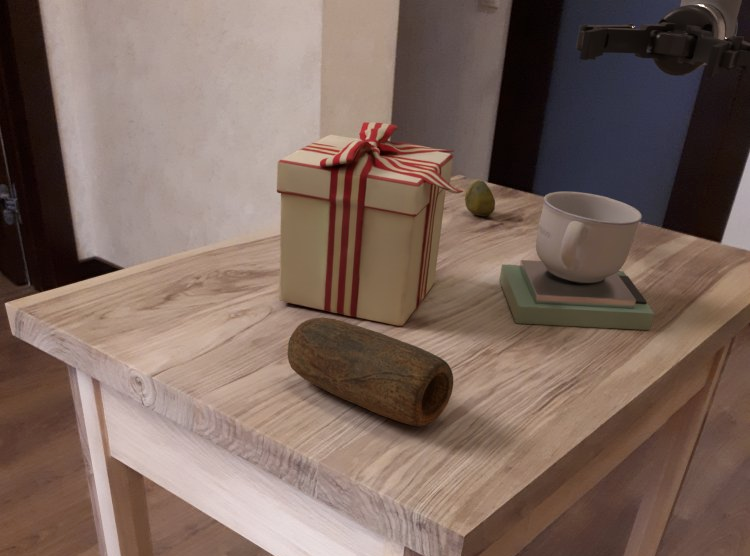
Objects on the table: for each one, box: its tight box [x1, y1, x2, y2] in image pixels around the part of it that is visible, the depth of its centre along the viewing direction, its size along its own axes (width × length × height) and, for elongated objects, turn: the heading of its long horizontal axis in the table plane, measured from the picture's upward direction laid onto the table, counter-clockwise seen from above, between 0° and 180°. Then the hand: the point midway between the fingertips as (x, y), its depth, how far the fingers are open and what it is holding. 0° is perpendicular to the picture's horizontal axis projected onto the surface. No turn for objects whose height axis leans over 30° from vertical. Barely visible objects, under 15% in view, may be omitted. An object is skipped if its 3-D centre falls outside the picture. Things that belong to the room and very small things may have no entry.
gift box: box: [276, 121, 464, 327], centre depth 87 cm, size 17×18×17 cm
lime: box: [464, 179, 496, 217], centre depth 117 cm, size 4×5×5 cm
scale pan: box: [519, 259, 636, 309], centre depth 91 cm, size 11×11×1 cm
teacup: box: [535, 191, 643, 283], centre depth 89 cm, size 14×11×8 cm
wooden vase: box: [287, 317, 454, 427], centre depth 69 cm, size 15×7×7 cm, turn 55°
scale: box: [499, 264, 655, 331], centre depth 92 cm, size 15×13×2 cm
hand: (646, 53), depth 85 cm, fingers open, 13 cm apart
